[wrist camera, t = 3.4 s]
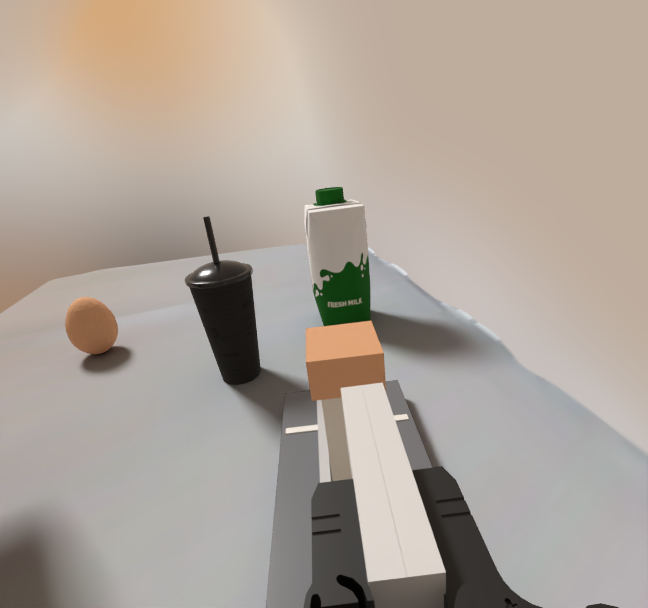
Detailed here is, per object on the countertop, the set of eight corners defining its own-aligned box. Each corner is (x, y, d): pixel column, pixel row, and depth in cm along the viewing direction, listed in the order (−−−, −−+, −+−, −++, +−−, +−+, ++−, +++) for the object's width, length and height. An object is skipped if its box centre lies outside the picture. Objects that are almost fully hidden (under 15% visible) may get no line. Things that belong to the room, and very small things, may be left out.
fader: (394, 532, 24) (383, 353, 19) (332, 539, 24) (305, 362, 19) (382, 482, 28) (371, 320, 23) (329, 488, 28) (306, 328, 23)
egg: (95, 343, 63) (75, 292, 59) (132, 340, 62) (115, 288, 59) (67, 364, 57) (44, 308, 53) (109, 361, 56) (87, 304, 53)
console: (489, 638, 20) (492, 601, 19) (269, 664, 20) (258, 628, 19) (398, 395, 41) (397, 370, 40) (287, 408, 41) (283, 383, 40)
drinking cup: (230, 356, 53) (197, 213, 46) (280, 359, 51) (253, 208, 43) (199, 388, 47) (153, 226, 39) (254, 394, 44) (218, 222, 37)
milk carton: (364, 304, 65) (355, 184, 58) (377, 326, 57) (369, 188, 49) (314, 312, 65) (298, 191, 57) (320, 335, 56) (302, 197, 49)
